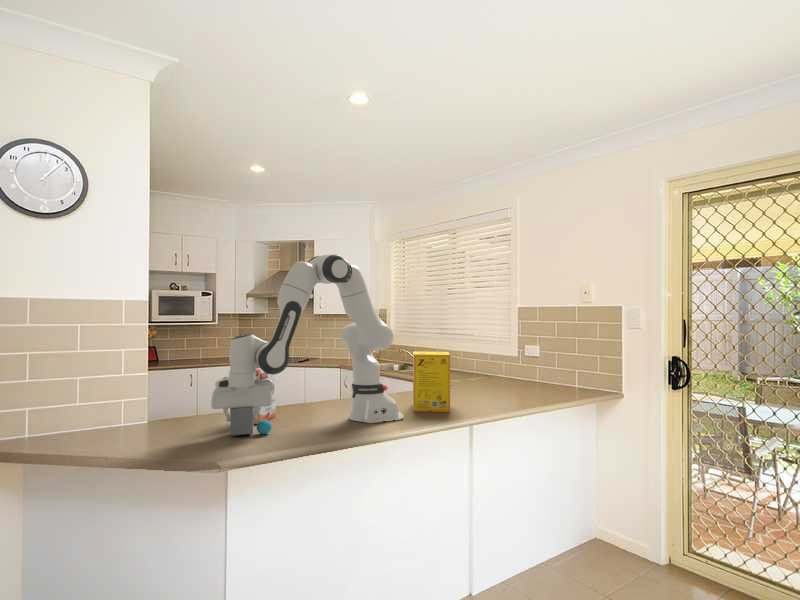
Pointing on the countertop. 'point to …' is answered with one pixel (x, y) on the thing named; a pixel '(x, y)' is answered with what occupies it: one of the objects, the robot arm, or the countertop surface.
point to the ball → (264, 427)
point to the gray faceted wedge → (241, 420)
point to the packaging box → (431, 381)
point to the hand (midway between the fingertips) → (242, 420)
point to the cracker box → (270, 411)
